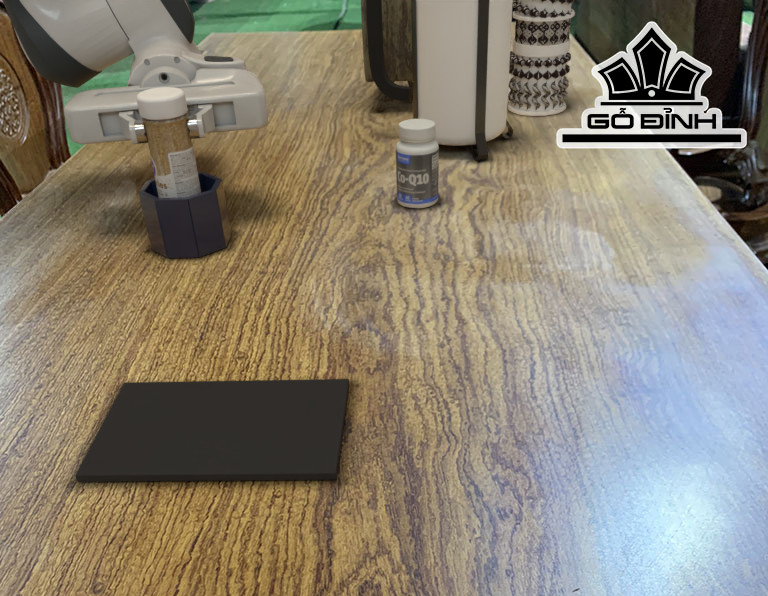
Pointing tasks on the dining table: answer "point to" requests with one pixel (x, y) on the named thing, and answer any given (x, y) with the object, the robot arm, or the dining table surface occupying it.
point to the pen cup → (187, 219)
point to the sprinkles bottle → (169, 141)
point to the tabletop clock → (391, 43)
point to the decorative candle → (540, 57)
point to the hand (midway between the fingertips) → (167, 132)
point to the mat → (220, 432)
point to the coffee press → (453, 68)
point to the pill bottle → (417, 164)
